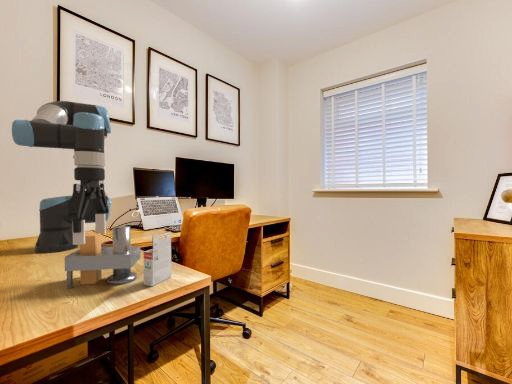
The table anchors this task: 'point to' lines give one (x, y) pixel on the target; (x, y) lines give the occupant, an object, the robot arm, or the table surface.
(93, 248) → the orange rectangular prism
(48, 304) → the table surface
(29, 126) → the robot arm
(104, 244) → the mug
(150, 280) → the ink box
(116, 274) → the legged grey stand
